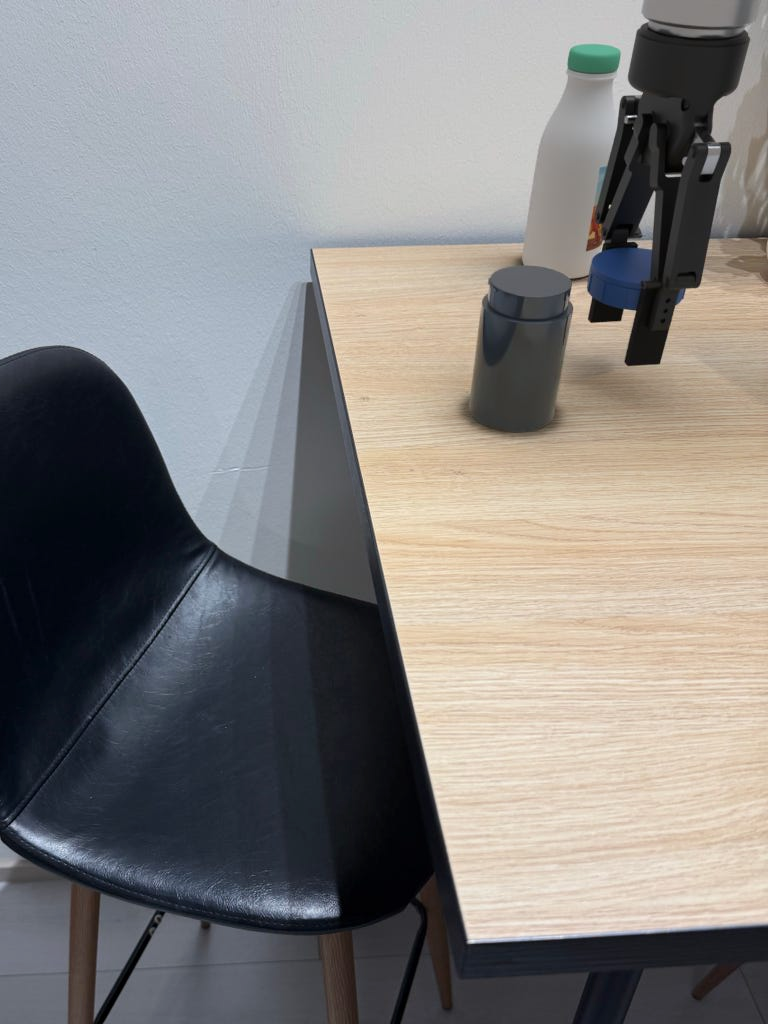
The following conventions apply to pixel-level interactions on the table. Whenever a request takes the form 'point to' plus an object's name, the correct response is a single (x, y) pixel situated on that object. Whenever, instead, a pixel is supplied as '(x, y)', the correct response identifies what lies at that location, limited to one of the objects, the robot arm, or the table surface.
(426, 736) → the table surface
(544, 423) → the jar
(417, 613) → the table surface
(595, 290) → the lid
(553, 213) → the milk bottle
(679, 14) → the robot arm
